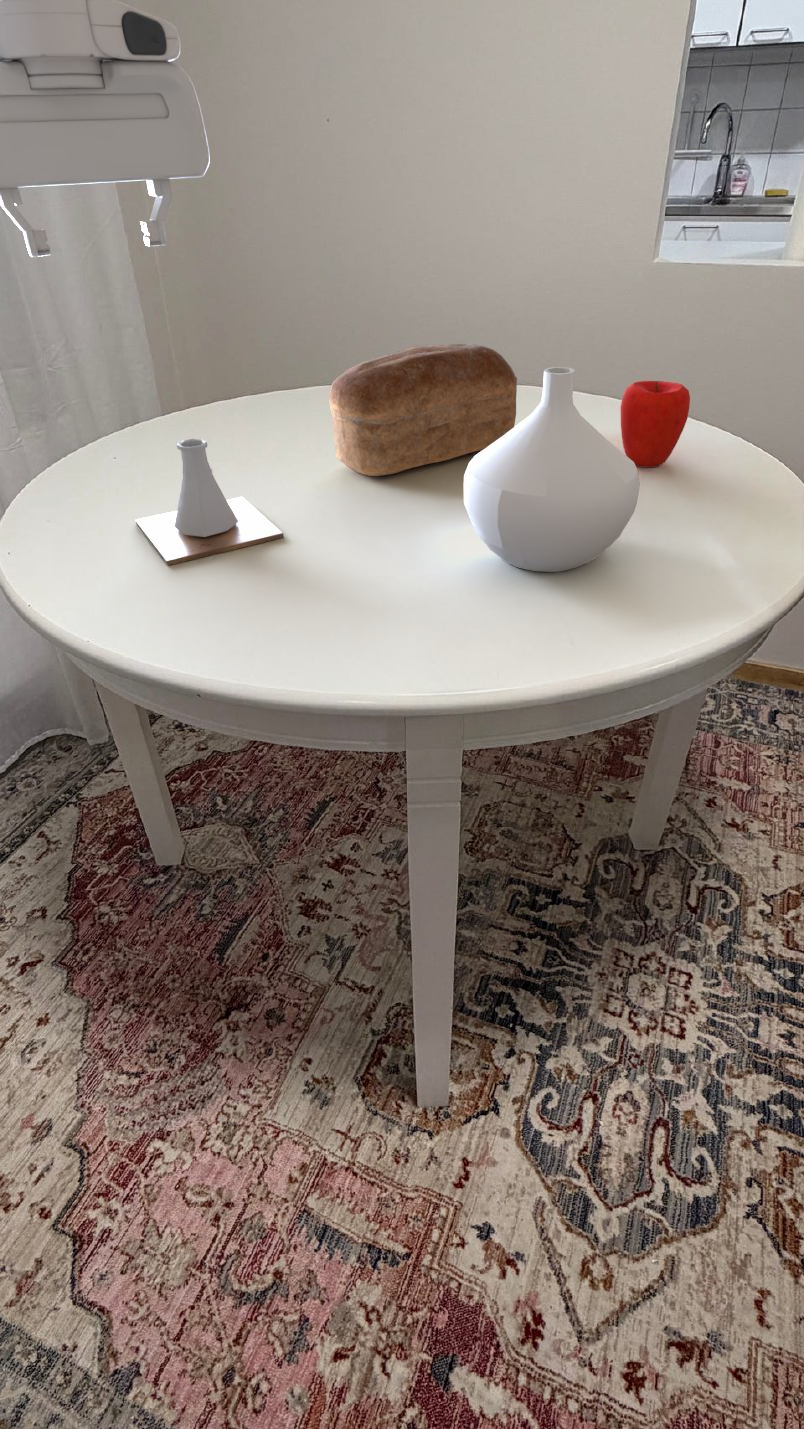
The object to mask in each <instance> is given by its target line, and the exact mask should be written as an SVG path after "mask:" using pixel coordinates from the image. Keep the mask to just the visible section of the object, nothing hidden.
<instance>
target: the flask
mask: <svg viewBox="0 0 804 1429" xmlns="http://www.w3.org/2000/svg"><path fill="white" fill-rule="evenodd" d="M176 448H177V450H179V451H180V455H181V462H182V479H181V486H180V493H179V499H178V504H177V509H176V511H177V514H176V519H175V525H174V527H175V528H176V529H177V530H179V531H180V532H181V533H182V534H184V535H192V536H200V537H206V536H210V535H214V534H217V533H221V532H225V531H228V530H229V529H230V528H231V527H233V526H234V525H235V524H236V523H238V522H239V521H238V519H237V518H236V516H235V514H234V512H233V511H232V509H231V507H230V505H229V504H228V502H227V500H228V499H226V497H225V495H224V493H223V491H222V489H221V488H220V486H219V484H218V481H217V480H216V478H215V476H214V474H213V471H212V469H211V466H210V463H209V460H208V456H207V451H206V450H207V449H206V448H208V442H207V441H206V440H204V439H200V438H190V439H185V440H181V441H179V442H178V443H176Z"/></svg>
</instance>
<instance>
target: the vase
mask: <svg viewBox="0 0 804 1429" xmlns="http://www.w3.org/2000/svg"><path fill="white" fill-rule="evenodd" d="M575 373H576V370H575V369H574V368H571V367H567V366H551V367H547V368H545V369H544V370H543V382H542V394H541V399H540V402H539V404H538V405H537V406H536V408H535V409H534V410H533V411H532V413H531V414H529V415H527V417H525V418H524V419H523V420H521V421H520V422H518V424H515V425H514V428H513V429H511V430H510V431H509V432H507V433H506V434H505V435H503V436H502V437H501V438H499V439H498V440H496V441H495V442H494V443H492V444H491V445H489V446H488V447H487V448H485V449H484V450H480V452H478V453H477V454H475V455H474V456H473V457H472V458H471V460H470V461H469V462H468V464H467V467H466V469H465V472H464V474H463V504H464V505H463V506H464V507H465V510H466V512H467V515H468V517H469V520H470V522H471V524H472V527H473V529H474V531H475V532H476V534H477V536H478V537H479V538H480V539H481V541H483V543H484V544H485V546H486V547H487V548H488V550H489V551H491V552H492V553H493V554H495V555H496V556H498V557H499V558H500V559H502V560H503V561H504V562H506V563H507V564H510V565H511V566H514V567H516V568H518V569H519V568H520V569H524V570H526V571H533V572H543V573H545V572H546V573H548V572H549V573H555V572H565V571H569V570H573V569H577V568H579V567H581V566H583V565H585V564H587V563H589V562H591V561H593V560H595V559H596V558H598V557H599V556H600V555H602V554H603V553H604V552H605V551H606V550H607V549H608V548H609V547H610V546H611V545H613V543H614V542H615V541H617V540H618V539H619V538H620V536H621V534H622V533H623V532H624V529H626V526H627V525H628V523H629V521H630V520H631V518H632V516H633V515H634V513H635V511H636V507H637V503H638V500H639V495H640V490H641V489H640V488H641V480H640V475H639V471H638V468H637V466H636V465H635V464H634V462H633V461H632V460H631V459H629V458H628V457H627V456H626V454H625V453H624V452H623V451H621V450H620V449H619V448H618V447H617V446H615V444H613V443H612V442H610V441H609V440H608V439H607V438H606V437H605V436H604V435H602V433H601V432H600V431H598V430H597V428H595V427H594V426H593V425H592V424H591V423H590V422H589V421H588V420H587V419H586V418H584V416H582V414H580V412H579V410H578V409H577V407H576V406H575V404H574V400H573V399H574V398H573V395H574V394H573V393H574V384H575V383H574V382H575Z"/></svg>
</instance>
